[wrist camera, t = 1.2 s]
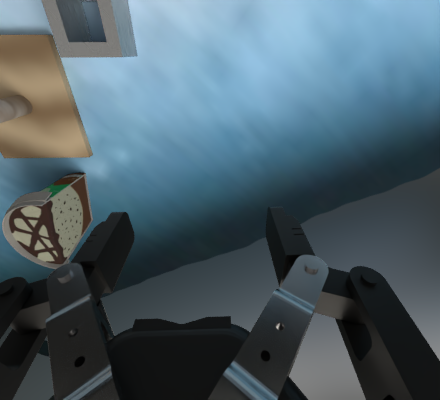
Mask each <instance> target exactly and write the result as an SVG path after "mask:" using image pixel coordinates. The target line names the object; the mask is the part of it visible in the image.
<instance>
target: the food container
mask: <svg viewBox="0 0 440 400" xmlns="http://www.w3.org/2000/svg"><path fill="white" fill-rule="evenodd" d="M92 221H93V218H92V212H91V205H90V199H89V192H88V186H87V179H86V173H72V174H68V175H66V176H64V177H63V178H61V179H59V180H58V181H56V182H55V183H53V184H51V185H50V186H48V187H47V188H45V189H43V190H42V191H40V192H33V193H28V194H25V195H23V196H21V197H19V198H18V199H17V200H16V201H15V202H14V203H13V204H12V205H11V207H10V208H9V209H8V210H7V212H6V214H5V216H4V219H3V223H2V228H3V233H4V236H5V237H6V239H7V241H8V242H9V243H10V245H11V246H12V247H13V248H14V249H15V250H16V251H18V252H19V253H20V254H21V255H23V256H24V257H26V258H27V259H29V260H31V261H33V262H35V263H37V264H40V265H43V266H46V267H49V268H53V269H57V268H59V267H60V266H62V265H65V264H67V263H68V262H69V261H70V260H68V259H69V257H70V255H71V254H72V252H73V251H74V249H75V248H76V246H77V244H78V243H79V241H80V240H81V238H82V236H83V235H84V233H85V232H86V230H87V229H88V227H89V225H90V224H91V222H92Z"/></svg>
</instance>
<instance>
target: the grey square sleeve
mask: <svg viewBox="0 0 440 400" xmlns="http://www.w3.org/2000/svg"><path fill="white" fill-rule="evenodd" d="M82 2H98V7H99V11H100V15H101V19H102V24H103V28H104V32H105V37H106V41H107V42H92V39H91V35H90V31H89V27H88V24H87V20H86V16H85V12H84V8H83V5H82ZM42 3H43V6H44V9H45V12H46V15H47V18H48V21H49V24H50V27H51V30H52V33H53V36H54V39H55V42H56V45H57V47H58V50H59V53H60V56H61V57H134V56H137V50H136V45H135V39H134V33H133V28H132V22H131V16H130V11H129V5H128V0H42Z"/></svg>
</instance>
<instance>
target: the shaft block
mask: <svg viewBox="0 0 440 400" xmlns="http://www.w3.org/2000/svg"><path fill="white" fill-rule="evenodd" d="M0 152H1V153H2V155H3V157H4V158H63V157H90V156H92V155H93V154H92V151H91V148H90V145H89V142H88V139H87V136H86V133H85V130H84V127H83V124H82V121H81V118H80V115H79V112H78V109H77V106H76V103H75V100H74V97H73V95H72V92H71V89H70V86H69V83H68V80H67V77H66V74H65V71H64V68H63V65H62V62H61V59H60V56H59V53H58V50H57V47H56V44H55V41H54V38H53V35H0Z"/></svg>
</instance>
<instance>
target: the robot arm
mask: <svg viewBox="0 0 440 400" xmlns="http://www.w3.org/2000/svg"><path fill="white" fill-rule="evenodd" d="M266 238H267V242H268V246H269V250H270V253H271V257H272V261H273V265H274V268H275V272H276V276H277V279H278V283H279V287H280V289H279V290H278V289H276V290H275V291H274V293H273V295H272V296H271V298H270V300H269V301H268V303H267V305H266V306H265V308H264V310H263V311H262V313H261V315H260V317H259V318H258V320H257V322H256V323H255V325H254V327H253V328H252V331H251V332H249V331H247V330H246V329H244V328H242V327H240V326H237V325H234V324H231V317H230V316H226V317H206V318H202V319H199V320H196V321H192V322H189V323H186V324H177V323H174V322H170V321H166V320H162V319H136V320H135V322H134V325H133V328H130V329H128V330H125V331H123V332H121V333H120V334H118V335H116V336H115V335H114V333H113V331H112V328H111V325H110V323H109V320H108V317H107V315H106V312H105V309H104V306H103V303H102V301H101V299H100V298H101V296H102V294H103V293H112V292H113V289H114V287H115V285H116V282H117V280H118V278H119V275H120V273H121V271H122V268H123V266H124V264H125V261H126V259H127V257H128V254H129V252H130V250H131V247H132V245H133V243H134V231H133V228H132V225H131V222H130V219H129V216H128V214H127V213H126V212H112V213H111V214H110V215H109V217H108V218H107V220H106V221H105V222H101V223H100V224H99V225H97V226H96V227H95V228H94V229H93V231H92V232H91V234H90V236H89V237H88V238H87V240H86V242H84V244H83V245H82V247H81V248H80V250H79V251H78V253H77V254H76V256H75V257H74V259H73V260H72V261H71V263H68V264H65V265H62V266H60V267H59V268H57V269H56V270H54V271H53V272H52V273H51V274H50V275H49V277H48V278H47V279H43V280H40V281H36V282H33V283H28V282H27V281H26V280H25V279H24V278H22V277H15V278H11V279H8V280H5V281H3V282H1V283H0V339H1V337H2V336H3V334H4V333H5V331H6V330H7V328H8V327H9V326H11V327H12V328H13V329H12V331H11V332H10V333H9V335H8V336H7V338H6V340H5V341H4V342H3V344H2V346H1V347H0V400H12V399H13V397H14V396H15V394H16V392H17V390H18V388H19V386H20V384H21V382H22V381H23V379H24V377H25V375H26V373H27V371H28V369H29V368H30V366H31V364H32V362H33V360H34V358H35V357H36V355H37V353H38V351H39V349H40V347H41V345H42V343H43V342H44V340H45V338H46V336H47V339H48V348H49V356H50V364H51V373H52V381H53V389H54V395H53V396H52V397H51V398H50V399H49V400H308V399H307V398H306V396H305V395H304V394H303V393H302V392H301V390H300V389H299V388H298V387H297V386H296V384H295V383H294V382H293V381H292V380H291V379H290V378H289V374H290V372H291V369H292V367H293V364H294V362H295V359H296V357H297V354H298V351H299V349H300V346H301V344H302V341H303V339H304V336H305V334H306V331H307V329H308V326H309V324H310V321H311V318H312V315H313V313H314V312H315V313H319V314H322V315H326V316H329V317H333V318H335V319H336V322H337V324H338V327H339V330H340V332H341V335H342V338H343V340H344V343H345V346H346V348H347V350H348V353H349V356H350V359H351V361H352V364H353V366H354V369H355V372H356V374H357V377H358V380H359V382H360V384H361V387H362V390H363V393H364V395H365V398H366V400H440V361H439V359H438V358H437V356H436V355H435V353H434V352H433V350H432V349H431V347H430V346H429V344H428V343H427V341H426V340H425V338H424V337H423V335H422V334H421V332H420V331H419V329H418V328H417V326H416V325H415V323H414V322H413V320H412V319H411V317H410V315H409V314H408V313H407V311H406V310H405V308H404V307H403V305H402V303H401V302H400V301H399V299H398V297H397V296H396V295H395V293H394V291H393V290H392V289H391V287H390V285H389V284H388V283H387V281H386V279H385V278H384V277H383V276H382V275H381V274H380V273H378V272H376V271H375V270H373V269H371V268H368V267H362V266H357V267H354V268H352V269H351V271H350V273H349V272H344V271H340V270H336V269H332V268H329V267H327V265H326V263H325V262H324V261H322V260H321V259H320V258H318V257H316V256H315V254H314V252H313V250H312V248H311V247H310V244H309V242H308V240H307V238H306V236H305V234H304V231H303V229H302V227H301V225H300V223H299V221H298V220H297V219H296V218H294V217H293V216H292V215H286V214H285V212H284V210H283V207H268V212H267V221H266Z"/></svg>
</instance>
